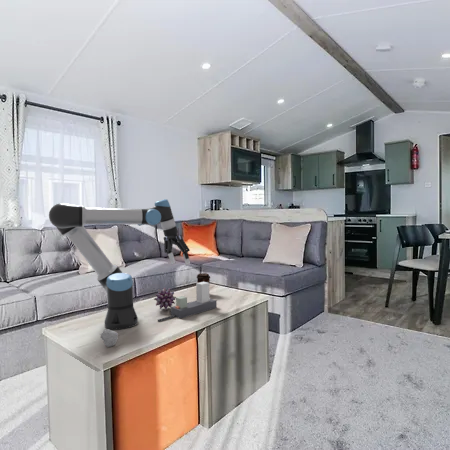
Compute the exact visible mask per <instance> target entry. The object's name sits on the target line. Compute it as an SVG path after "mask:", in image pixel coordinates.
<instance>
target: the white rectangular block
mask: <svg viewBox="0 0 450 450" xmlns="http://www.w3.org/2000/svg"><path fill="white" fill-rule="evenodd" d="M195 285H196V286H195V287H196V289H195V290H196V291H195V292H196V301H197V302H200V303H205V302H209V301H210V299H211V298H210V283H208V282H200V283H197V282H195Z"/></svg>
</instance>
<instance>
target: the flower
mask: <svg viewBox="0 0 450 450" xmlns="http://www.w3.org/2000/svg"><path fill="white" fill-rule="evenodd" d="M157 290H158V291H157V293H156V294H154V296H156V297H154V298H153V300H154V301H156V303H155V306H159V310H162V309H163V308H164V310H165V311H166V310H168V308H170V309H171V307H173V304H174V305H176V296H175V295H174V294H175V292H174V291H171V288H168V289H166V287H163V289H157Z"/></svg>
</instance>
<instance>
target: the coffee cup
mask: <svg viewBox="0 0 450 450" xmlns="http://www.w3.org/2000/svg"><path fill="white" fill-rule="evenodd" d="M196 279H197V282H196V283H200V282H208V283H209V284H210V283H211V282H210V281H211V280H210V279H211V275H209V274H208V273H206V272H201V273H198V274H197V275H196Z"/></svg>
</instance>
